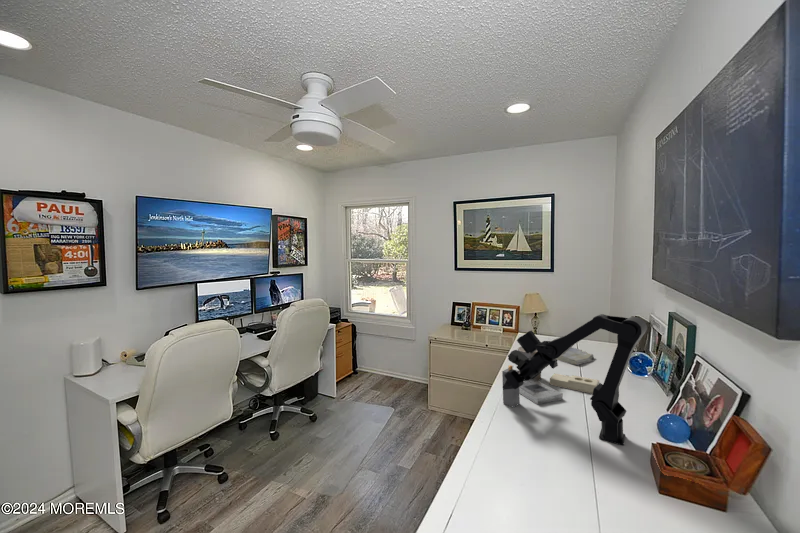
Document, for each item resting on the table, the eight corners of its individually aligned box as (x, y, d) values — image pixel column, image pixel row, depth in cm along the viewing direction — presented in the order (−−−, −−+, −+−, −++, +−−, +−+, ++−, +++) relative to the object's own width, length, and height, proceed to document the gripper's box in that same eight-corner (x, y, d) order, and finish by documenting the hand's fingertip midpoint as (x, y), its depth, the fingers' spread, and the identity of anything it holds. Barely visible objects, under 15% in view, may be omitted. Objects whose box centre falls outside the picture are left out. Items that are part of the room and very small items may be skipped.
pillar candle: (537, 373, 160) (535, 342, 159) (543, 381, 150) (542, 348, 149) (516, 374, 161) (515, 343, 160) (521, 382, 151) (520, 349, 150)
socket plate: (562, 399, 132) (562, 393, 132) (537, 404, 129) (537, 398, 128) (535, 384, 147) (535, 379, 147) (512, 388, 144) (511, 383, 144)
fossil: (599, 360, 178) (569, 350, 193) (599, 352, 177) (569, 343, 192) (576, 369, 168) (546, 358, 183) (576, 360, 168) (546, 350, 183)
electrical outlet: (554, 371, 152) (599, 379, 140) (554, 380, 152) (599, 389, 141) (549, 376, 147) (596, 385, 135) (549, 385, 147) (596, 395, 135)
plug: (519, 403, 130) (518, 365, 129) (513, 407, 127) (512, 368, 126) (509, 399, 133) (508, 363, 133) (503, 403, 130) (502, 366, 130)
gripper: (533, 340, 132) (508, 361, 141) (508, 350, 119) (483, 373, 128) (553, 364, 126) (526, 384, 135) (530, 378, 114) (501, 399, 123)
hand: (509, 384), depth 130 cm, fingers open, 9 cm apart
